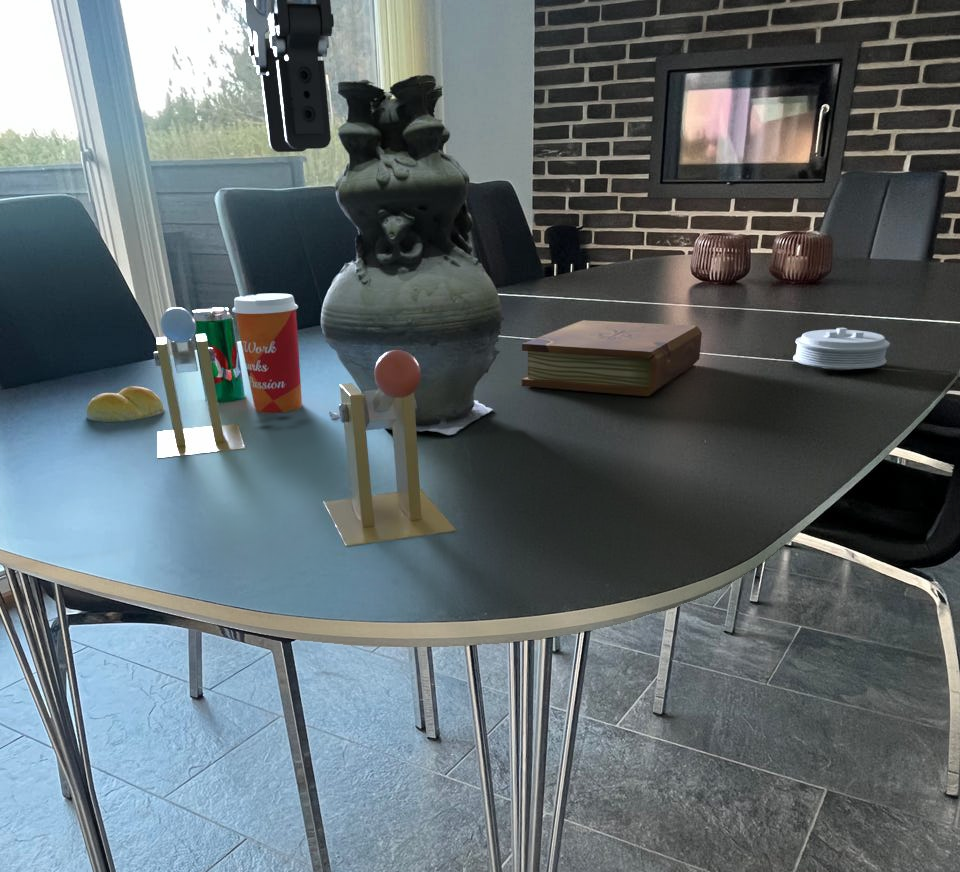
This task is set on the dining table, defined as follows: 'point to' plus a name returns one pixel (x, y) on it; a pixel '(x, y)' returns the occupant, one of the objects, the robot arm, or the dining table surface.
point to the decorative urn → (410, 255)
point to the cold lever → (180, 338)
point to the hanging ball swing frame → (180, 438)
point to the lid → (841, 349)
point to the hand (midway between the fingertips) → (298, 149)
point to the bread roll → (125, 405)
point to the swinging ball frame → (391, 511)
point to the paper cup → (270, 350)
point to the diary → (612, 356)
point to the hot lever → (390, 388)
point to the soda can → (221, 352)
